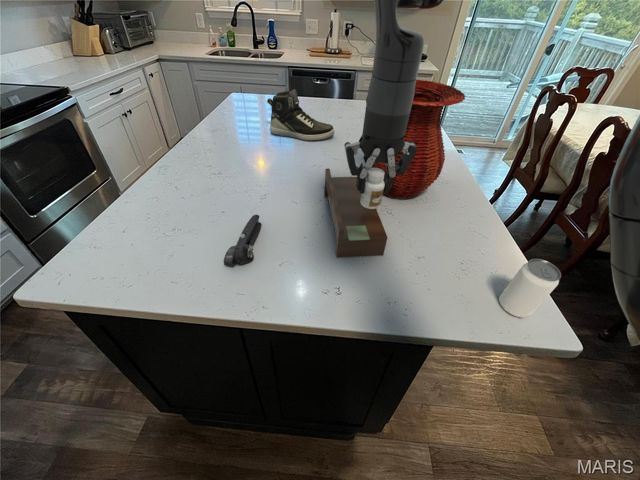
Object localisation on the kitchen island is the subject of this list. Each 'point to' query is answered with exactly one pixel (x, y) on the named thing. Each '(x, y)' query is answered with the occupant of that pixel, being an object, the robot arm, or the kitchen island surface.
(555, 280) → the can
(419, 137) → the vase
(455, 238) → the kitchen island surface
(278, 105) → the athletic shoe
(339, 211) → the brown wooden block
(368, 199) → the pill bottle
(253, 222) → the can opener
